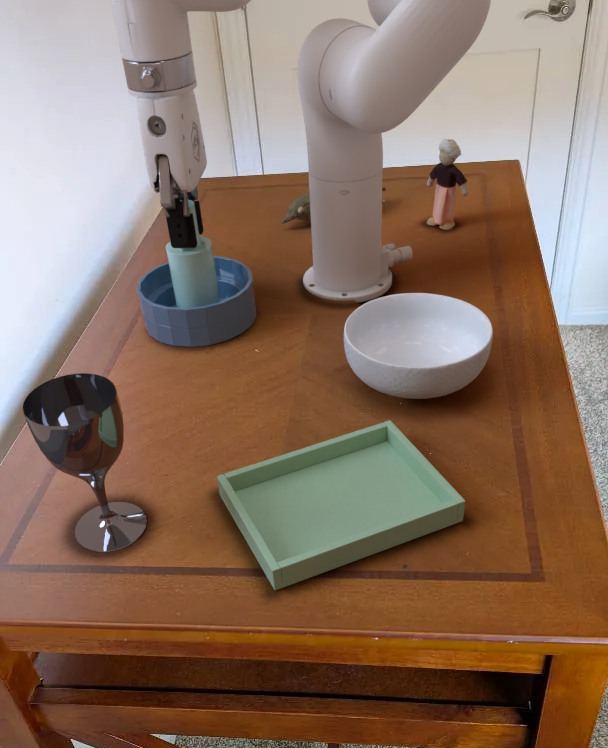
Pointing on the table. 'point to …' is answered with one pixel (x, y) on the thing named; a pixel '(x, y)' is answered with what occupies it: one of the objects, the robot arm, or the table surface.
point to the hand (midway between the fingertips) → (187, 239)
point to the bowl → (198, 321)
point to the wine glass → (86, 450)
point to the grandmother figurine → (446, 185)
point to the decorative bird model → (302, 208)
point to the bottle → (193, 271)
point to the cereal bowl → (417, 344)
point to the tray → (337, 502)
